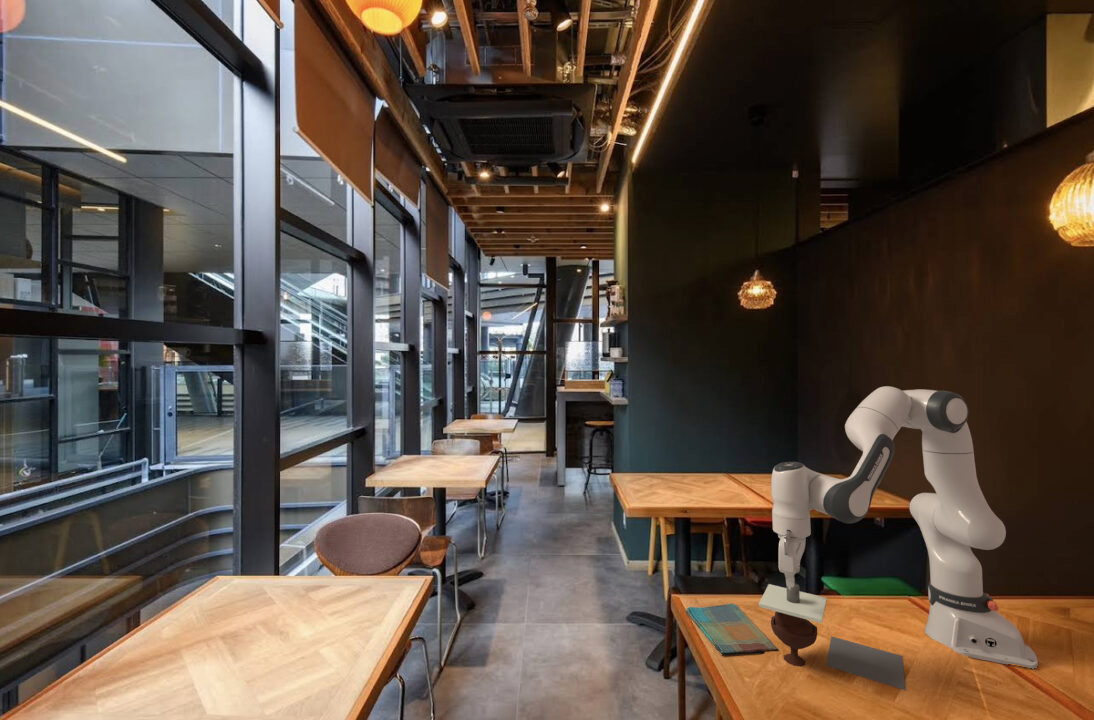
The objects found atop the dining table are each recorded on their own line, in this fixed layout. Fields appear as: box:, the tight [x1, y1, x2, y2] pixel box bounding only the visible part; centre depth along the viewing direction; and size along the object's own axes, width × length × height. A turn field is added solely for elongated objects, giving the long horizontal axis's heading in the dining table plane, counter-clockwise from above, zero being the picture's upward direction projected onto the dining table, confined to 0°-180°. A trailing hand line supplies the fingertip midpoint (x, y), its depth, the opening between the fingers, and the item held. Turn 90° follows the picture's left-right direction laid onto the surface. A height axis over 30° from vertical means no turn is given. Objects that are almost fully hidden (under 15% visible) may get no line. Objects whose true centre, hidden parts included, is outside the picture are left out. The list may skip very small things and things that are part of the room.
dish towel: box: [685, 603, 780, 657], centre depth 135 cm, size 17×23×2 cm
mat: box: [826, 636, 907, 691], centre depth 119 cm, size 16×16×1 cm
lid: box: [758, 582, 828, 624], centre depth 120 cm, size 14×14×5 cm
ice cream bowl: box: [770, 611, 818, 667], centre depth 120 cm, size 11×11×15 cm
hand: (793, 578), depth 121 cm, fingers open, 8 cm apart
